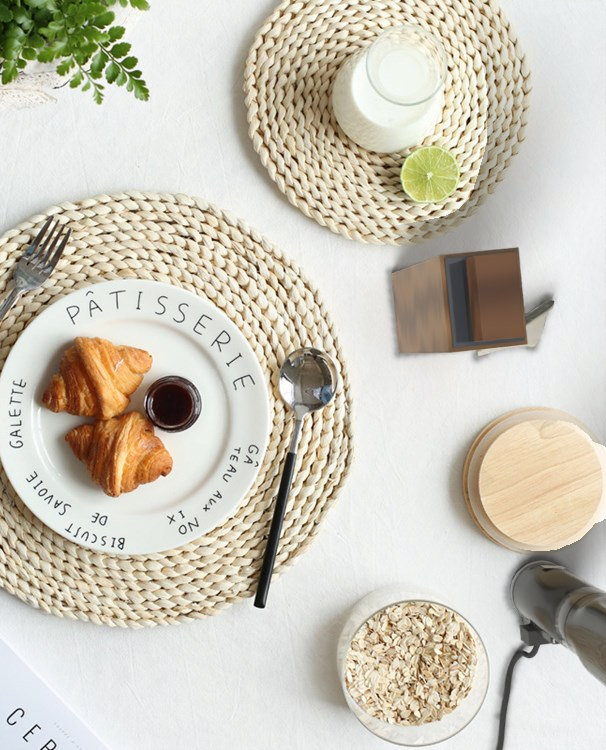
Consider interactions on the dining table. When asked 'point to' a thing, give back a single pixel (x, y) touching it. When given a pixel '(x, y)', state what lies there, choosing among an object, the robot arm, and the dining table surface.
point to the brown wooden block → (492, 297)
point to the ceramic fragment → (529, 327)
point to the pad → (462, 305)
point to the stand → (433, 306)
